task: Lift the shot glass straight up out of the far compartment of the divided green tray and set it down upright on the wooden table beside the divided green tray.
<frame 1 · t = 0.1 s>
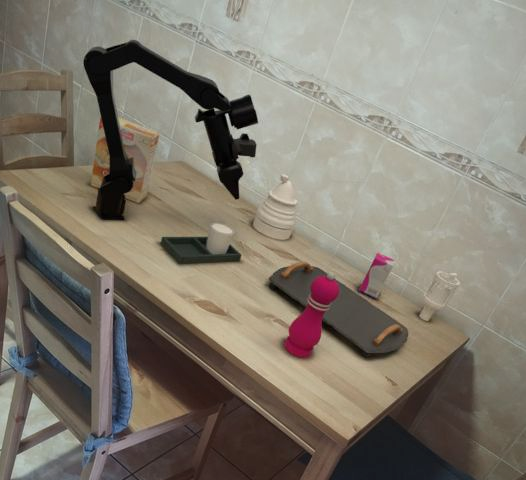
hand: (235, 192, 138), 15 cm above the table, tool tilted 30°, fingers open, 9 cm apart
divided green tray: (200, 252, 136), on the table
honey pot: (271, 230, 166), on the table
serving tray: (335, 313, 134), on the table
shot glass: (215, 252, 139), resting on divided green tray
coffeecake box: (118, 192, 151), on the table
pepper mill: (297, 349, 114), on the table
supplement box: (368, 292, 152), on the table
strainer: (423, 318, 150), on the table
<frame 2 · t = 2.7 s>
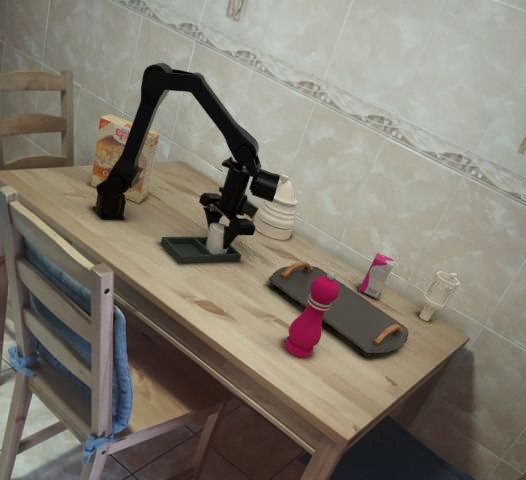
hand: (218, 242, 137), 3 cm above the table, tool pointing down, fingers closed on shot glass, 6 cm apart
shot glass: (215, 252, 139), resting on divided green tray, touching gripper
everything else where it was.
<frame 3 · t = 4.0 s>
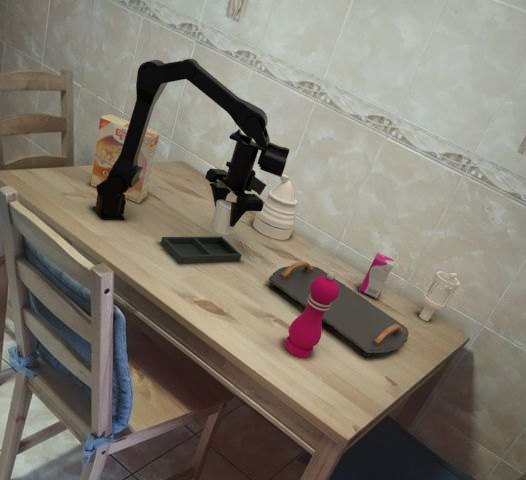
hand: (224, 220, 134), 10 cm above the table, tool pointing down, fingers closed on shot glass, 6 cm apart
shot glass: (221, 230, 135), point 7 cm above the table, touching gripper
everything else where it was.
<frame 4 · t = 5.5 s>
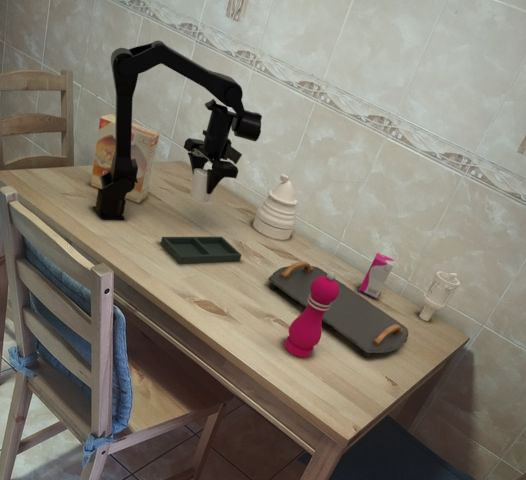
hand: (202, 188, 139), 12 cm above the table, tool pointing down, fingers closed on shot glass, 6 cm apart
shot glass: (199, 198, 141), point 10 cm above the table, touching gripper
everything else where it was.
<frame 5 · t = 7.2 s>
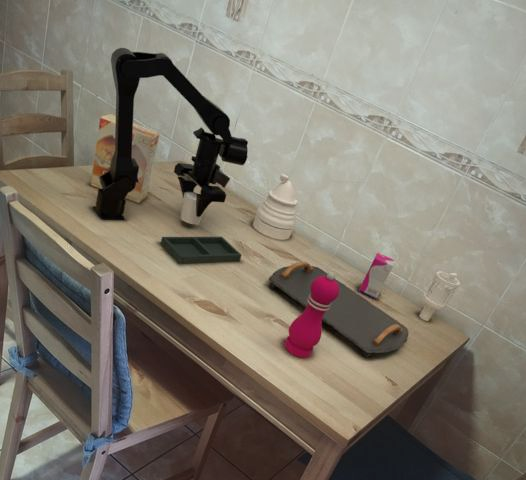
hand: (192, 210, 144), 5 cm above the table, tool pointing down, fingers closed on shot glass, 6 cm apart
shot glass: (189, 220, 146), point 2 cm above the table, touching gripper
everything else where it was.
when the fingers open (3 cm above the table, at t = 8.4 s): shot glass stays where it is, on the table.
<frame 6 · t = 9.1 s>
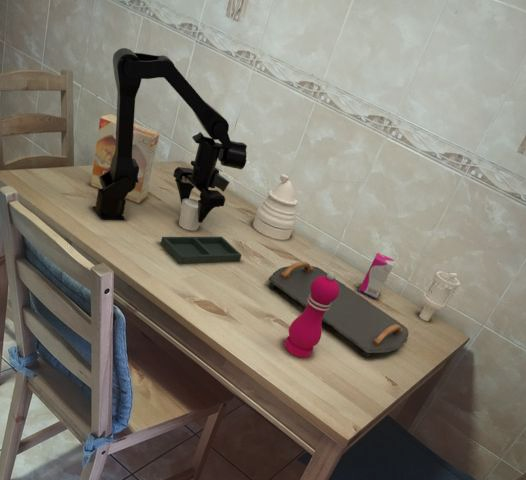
hand: (191, 214, 145), 4 cm above the table, tool pointing down, fingers open, 9 cm apart
shot glass: (188, 226, 147), on the table
everything else where it was.
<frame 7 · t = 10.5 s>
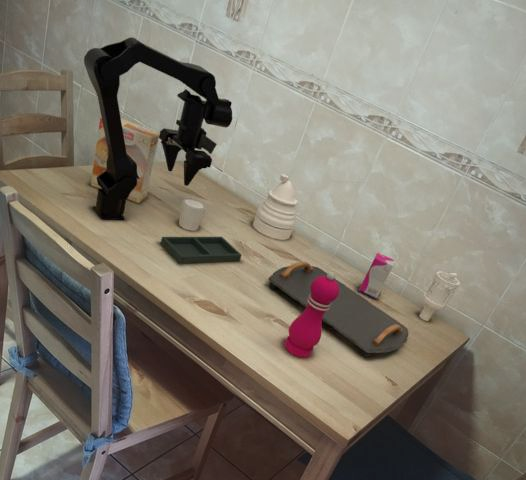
hand: (177, 178, 141), 12 cm above the table, tool pointing down, fingers open, 9 cm apart
nothing on the table moved.
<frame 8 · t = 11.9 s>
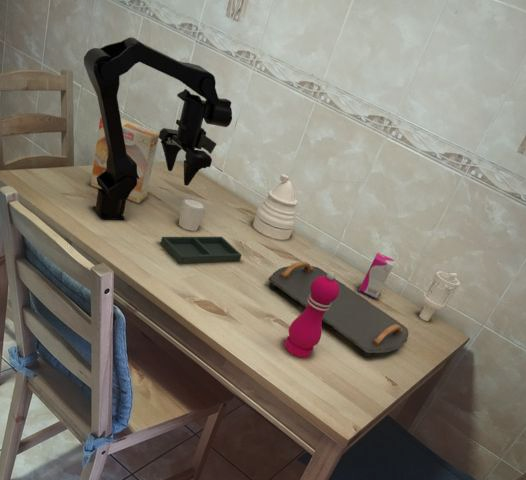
hand: (177, 177, 141), 12 cm above the table, tool pointing down, fingers open, 9 cm apart
nothing on the table moved.
at the end: shot glass inside the target area (0.1 cm from its centre), on the table; shot glass tilted 0°; shot glass touching table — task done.
